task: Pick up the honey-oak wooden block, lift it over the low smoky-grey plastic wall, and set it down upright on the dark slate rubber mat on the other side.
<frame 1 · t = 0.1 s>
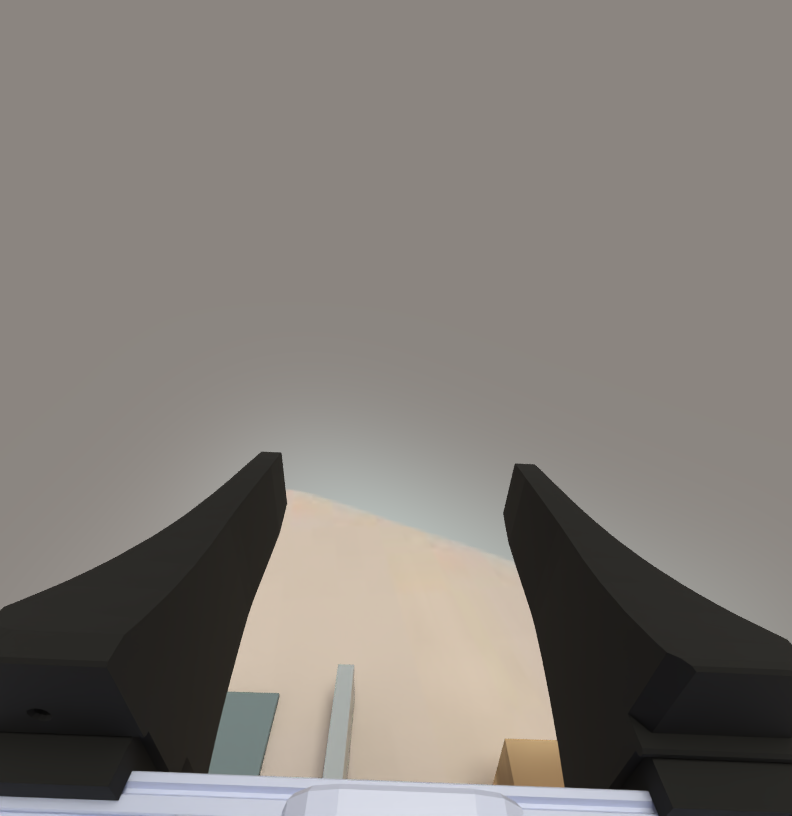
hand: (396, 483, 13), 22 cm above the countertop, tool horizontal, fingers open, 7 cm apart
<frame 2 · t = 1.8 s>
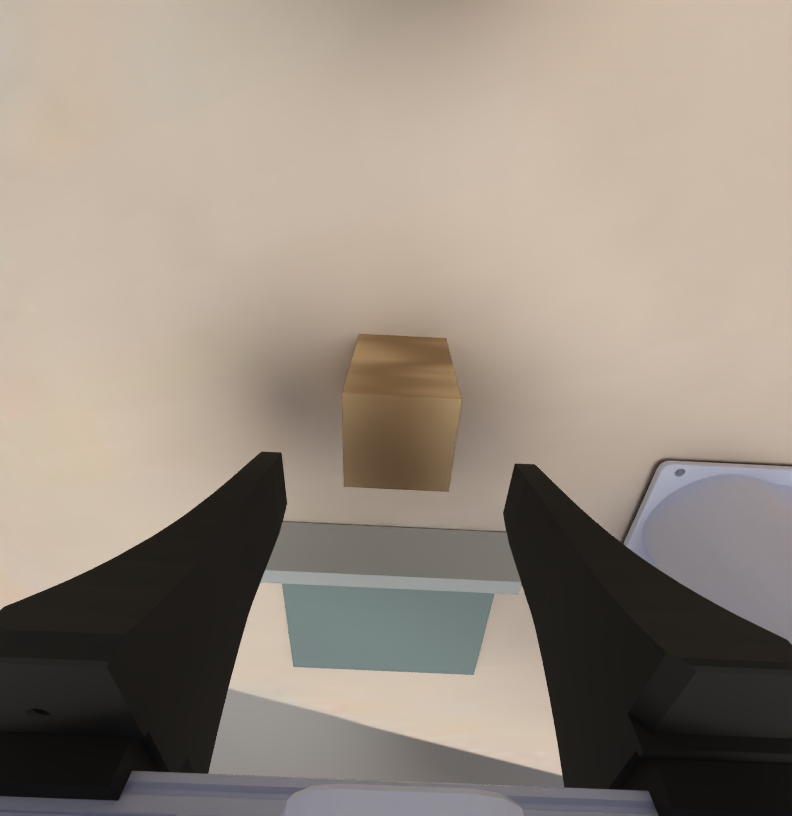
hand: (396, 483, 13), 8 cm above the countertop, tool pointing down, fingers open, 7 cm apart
oak block: (400, 375, 20), on the countertop
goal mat: (386, 627, 30), on the countertop
low wall: (391, 532, 25), on the countertop
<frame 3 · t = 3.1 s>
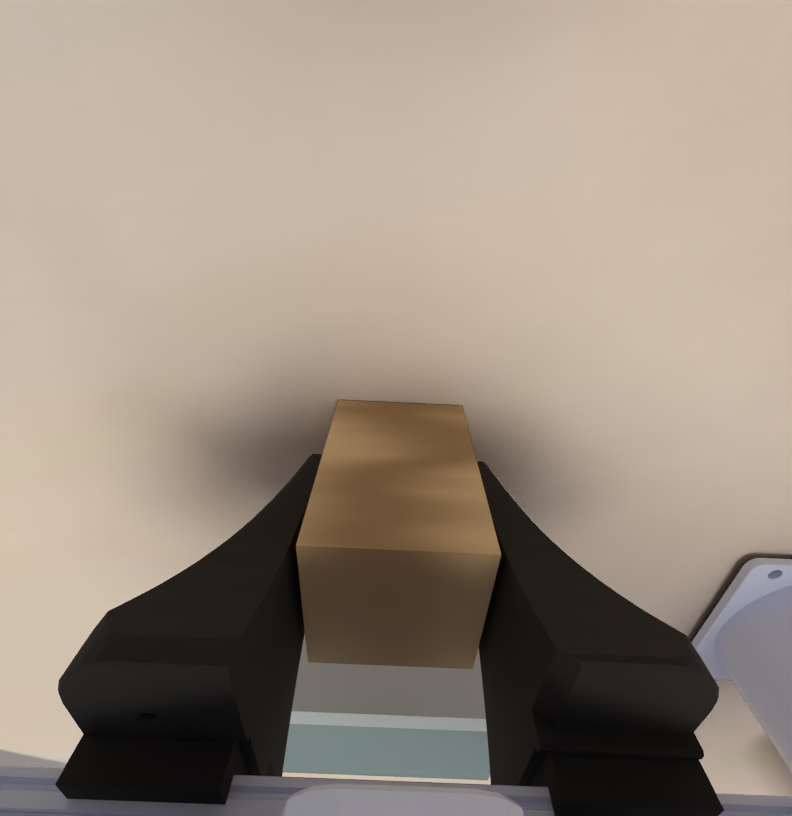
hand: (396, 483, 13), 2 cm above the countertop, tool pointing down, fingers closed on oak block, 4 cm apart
oak block: (397, 453, 14), on the countertop, touching gripper
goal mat: (380, 732, 24), on the countertop
low wall: (386, 635, 19), on the countertop
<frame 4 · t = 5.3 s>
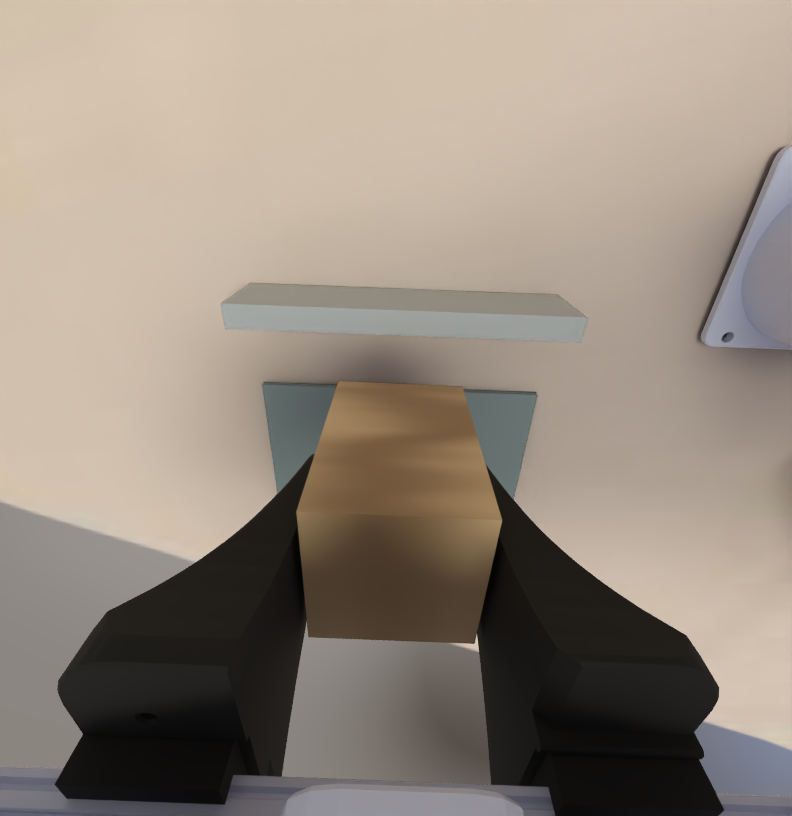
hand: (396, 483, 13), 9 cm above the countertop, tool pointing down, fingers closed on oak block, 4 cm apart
oak block: (397, 436, 14), point 7 cm above the countertop, touching gripper
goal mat: (396, 465, 24), on the countertop
low wall: (403, 299, 19), on the countertop
when the fingers open (3 cm above the countertop, at t = 7.6 s): oak block drops 1 cm, resting on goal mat.
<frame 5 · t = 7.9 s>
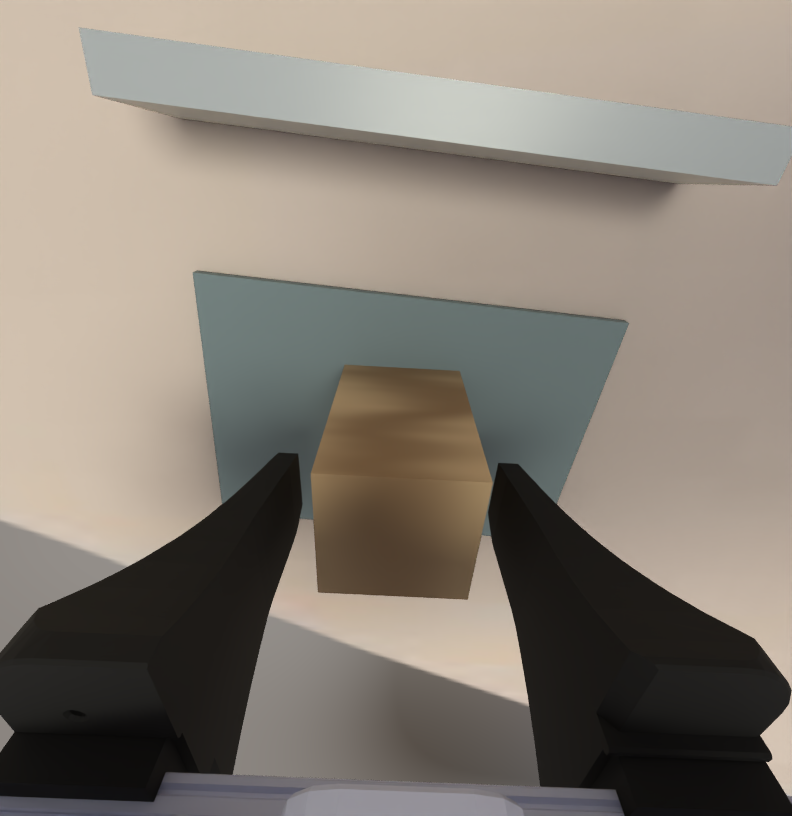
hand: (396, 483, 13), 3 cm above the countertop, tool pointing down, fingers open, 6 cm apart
oak block: (399, 417, 15), resting on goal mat
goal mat: (398, 426, 16), on the countertop
low wall: (437, 130, 11), on the countertop
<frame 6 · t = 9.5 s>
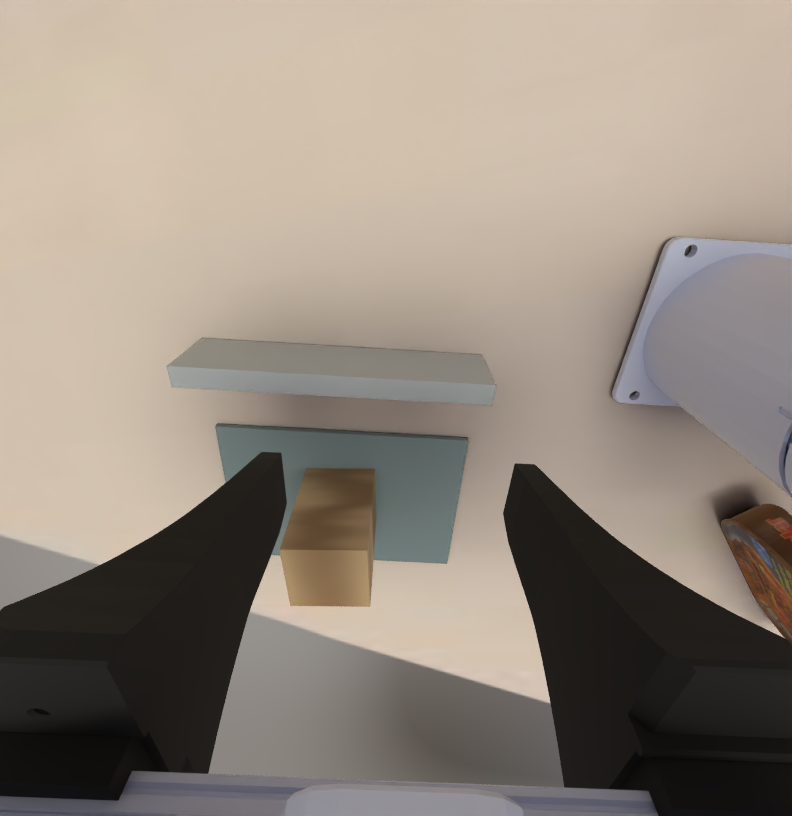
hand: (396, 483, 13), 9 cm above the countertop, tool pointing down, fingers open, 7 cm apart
oak block: (342, 494, 25), resting on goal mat
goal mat: (343, 498, 25), on the countertop
low wall: (343, 355, 21), on the countertop
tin: (759, 551, 28), on the countertop
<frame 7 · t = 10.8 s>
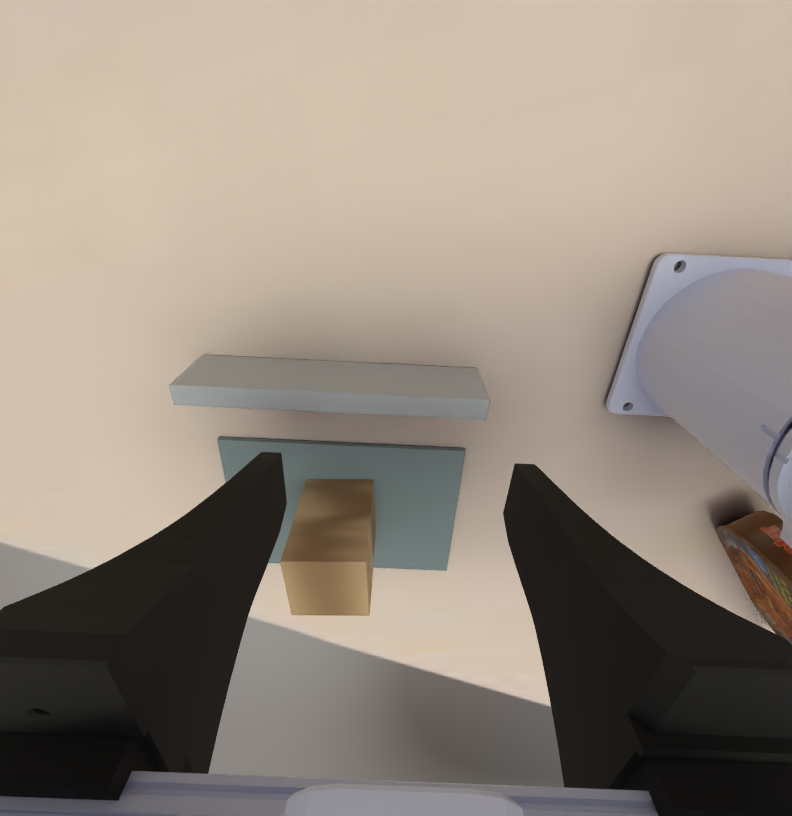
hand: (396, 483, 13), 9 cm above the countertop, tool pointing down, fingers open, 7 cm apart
oak block: (342, 504, 25), resting on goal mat
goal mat: (343, 508, 26), on the countertop
low wall: (340, 370, 21), on the countertop
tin: (756, 556, 28), on the countertop
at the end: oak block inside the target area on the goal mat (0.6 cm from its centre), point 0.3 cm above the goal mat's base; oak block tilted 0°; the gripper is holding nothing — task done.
